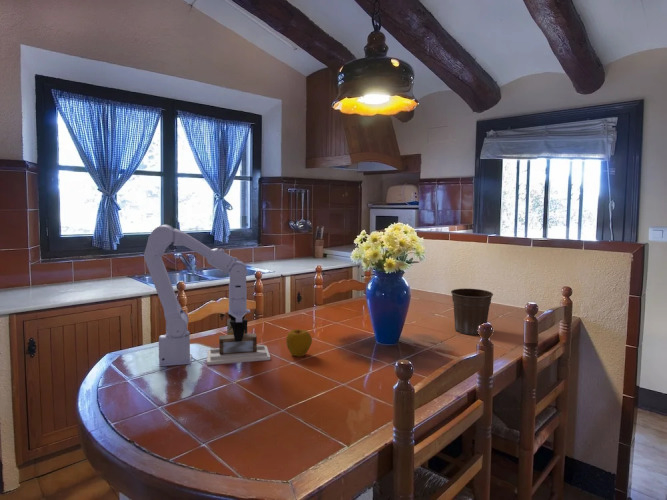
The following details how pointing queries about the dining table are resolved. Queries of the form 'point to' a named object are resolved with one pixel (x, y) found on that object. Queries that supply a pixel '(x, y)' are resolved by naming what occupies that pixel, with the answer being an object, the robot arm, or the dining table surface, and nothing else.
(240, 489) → the dining table surface
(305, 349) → the apple
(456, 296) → the plant pot
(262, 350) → the notch ledge
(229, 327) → the condiment
